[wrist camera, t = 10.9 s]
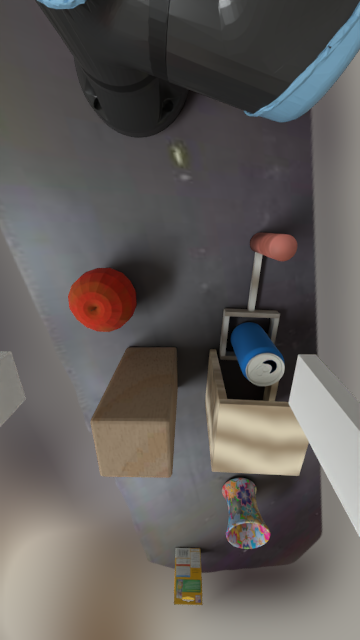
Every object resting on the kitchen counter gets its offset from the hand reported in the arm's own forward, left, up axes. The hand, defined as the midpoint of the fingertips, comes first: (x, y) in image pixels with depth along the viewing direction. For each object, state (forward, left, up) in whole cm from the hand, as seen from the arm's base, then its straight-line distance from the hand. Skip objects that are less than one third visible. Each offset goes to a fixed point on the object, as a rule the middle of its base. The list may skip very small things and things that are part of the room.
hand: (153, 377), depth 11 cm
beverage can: (+13, +14, -34) cm, 39 cm away
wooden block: (+21, -5, -34) cm, 40 cm away
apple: (+5, -12, -34) cm, 36 cm away
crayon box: (+83, +5, -34) cm, 90 cm away
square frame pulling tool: (+5, +13, -33) cm, 36 cm away
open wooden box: (+22, +13, -34) cm, 42 cm away
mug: (+56, +17, -34) cm, 67 cm away
